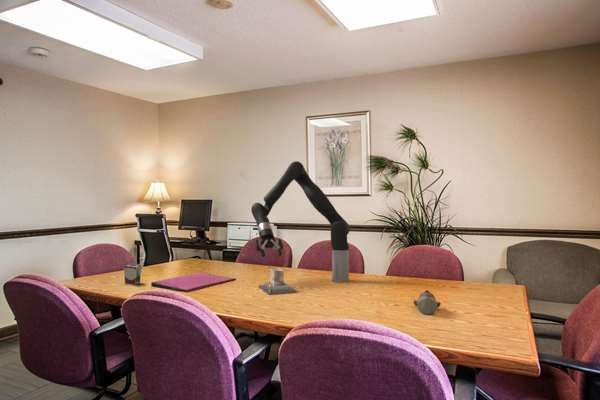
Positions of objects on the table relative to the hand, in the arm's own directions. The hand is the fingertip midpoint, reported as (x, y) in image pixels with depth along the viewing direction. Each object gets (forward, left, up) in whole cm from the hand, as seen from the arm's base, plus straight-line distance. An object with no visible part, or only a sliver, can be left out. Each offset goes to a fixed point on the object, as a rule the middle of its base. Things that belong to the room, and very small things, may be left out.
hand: (271, 255), depth 208 cm
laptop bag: (+44, -1, -17) cm, 47 cm away
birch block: (-4, +7, -15) cm, 17 cm away
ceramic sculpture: (-72, +37, -16) cm, 83 cm away
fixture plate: (-4, +7, -16) cm, 18 cm away
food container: (+76, +2, -16) cm, 77 cm away
